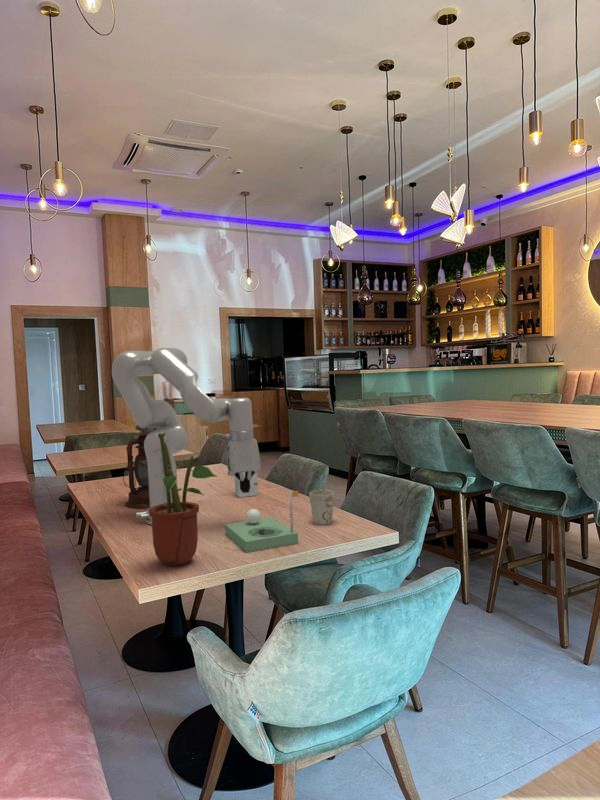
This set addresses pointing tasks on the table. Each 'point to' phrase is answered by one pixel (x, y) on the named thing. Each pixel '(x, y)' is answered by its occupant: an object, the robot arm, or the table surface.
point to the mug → (322, 506)
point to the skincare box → (253, 487)
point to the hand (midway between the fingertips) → (245, 491)
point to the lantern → (138, 474)
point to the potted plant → (176, 515)
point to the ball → (253, 516)
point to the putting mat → (263, 532)
